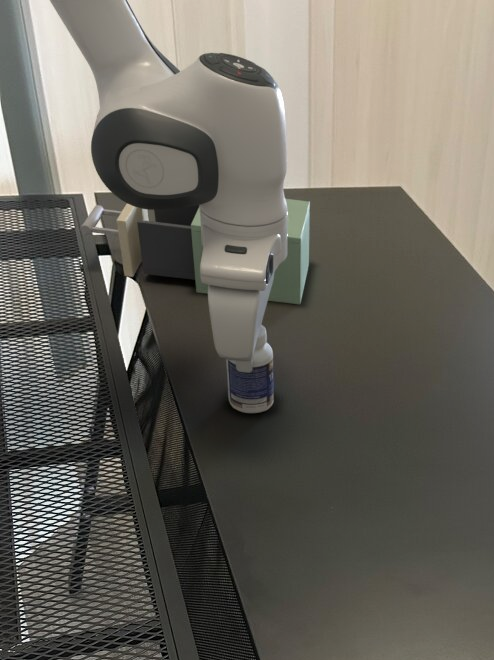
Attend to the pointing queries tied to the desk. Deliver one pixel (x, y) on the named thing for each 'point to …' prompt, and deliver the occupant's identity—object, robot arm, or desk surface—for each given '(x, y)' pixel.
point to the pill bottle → (253, 380)
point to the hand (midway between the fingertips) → (249, 353)
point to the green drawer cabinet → (288, 272)
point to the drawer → (151, 239)
